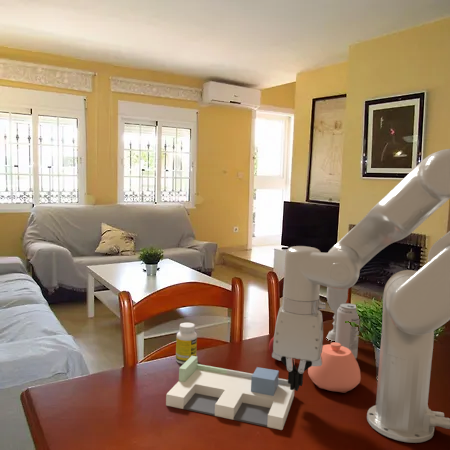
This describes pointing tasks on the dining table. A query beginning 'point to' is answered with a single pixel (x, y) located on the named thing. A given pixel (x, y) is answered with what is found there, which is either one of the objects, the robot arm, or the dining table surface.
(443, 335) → the dining table surface
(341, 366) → the sugar bowl
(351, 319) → the energy drink can
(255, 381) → the block
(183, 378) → the box
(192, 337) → the supplement bottle
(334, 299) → the chalice
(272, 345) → the onion
